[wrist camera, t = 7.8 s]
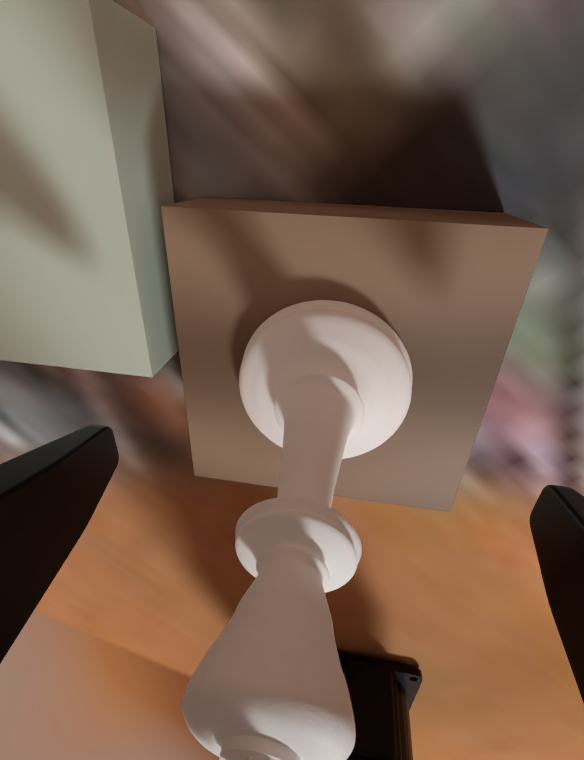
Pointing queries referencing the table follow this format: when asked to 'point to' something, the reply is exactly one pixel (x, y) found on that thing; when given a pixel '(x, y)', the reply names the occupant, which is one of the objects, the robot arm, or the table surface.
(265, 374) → the chess piece
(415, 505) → the walnut slab
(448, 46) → the table surface
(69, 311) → the sage slab
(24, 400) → the table surface
